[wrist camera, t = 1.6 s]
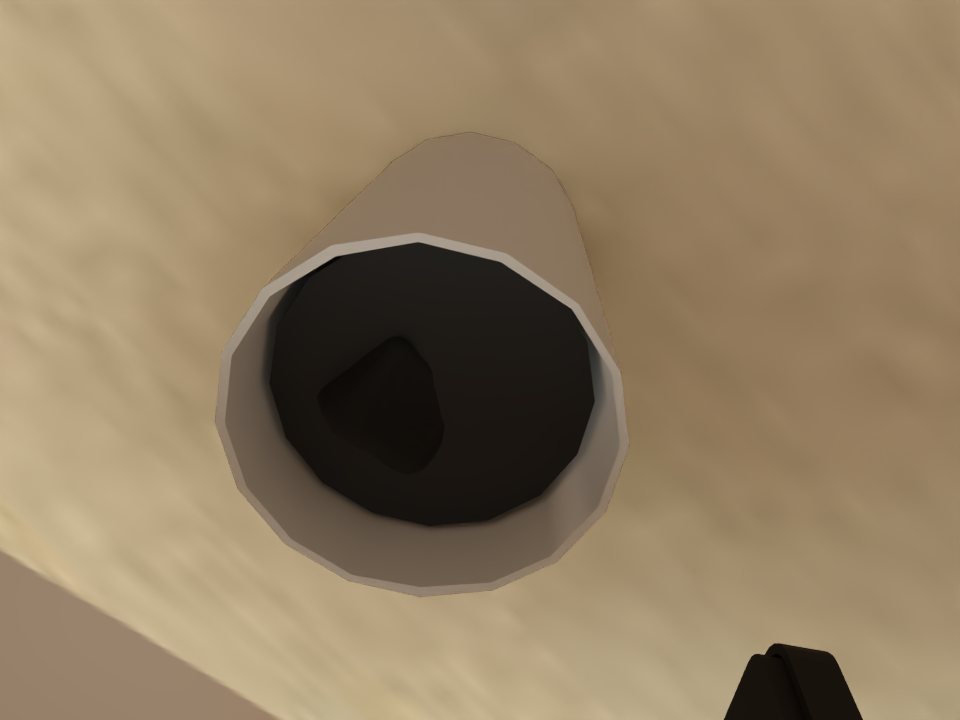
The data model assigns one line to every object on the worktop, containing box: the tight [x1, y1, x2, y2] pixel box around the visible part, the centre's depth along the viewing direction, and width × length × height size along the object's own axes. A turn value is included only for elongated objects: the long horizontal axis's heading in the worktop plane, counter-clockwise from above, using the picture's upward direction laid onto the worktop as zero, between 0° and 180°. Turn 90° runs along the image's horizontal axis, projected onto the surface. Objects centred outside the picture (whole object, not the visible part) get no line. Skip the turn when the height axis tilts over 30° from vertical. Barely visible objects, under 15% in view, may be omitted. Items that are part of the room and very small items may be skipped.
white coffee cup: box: [215, 132, 629, 597], centre depth 18 cm, size 7×7×10 cm
